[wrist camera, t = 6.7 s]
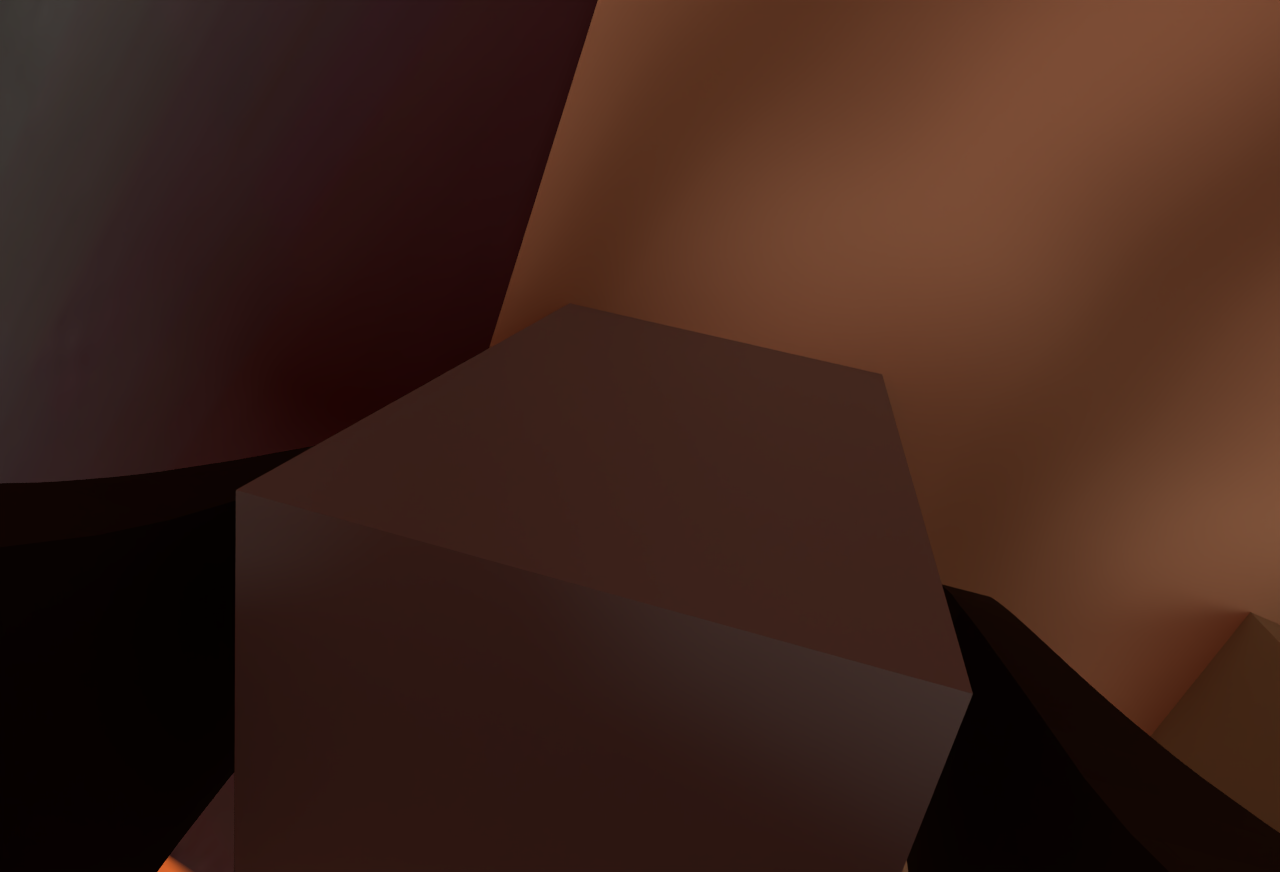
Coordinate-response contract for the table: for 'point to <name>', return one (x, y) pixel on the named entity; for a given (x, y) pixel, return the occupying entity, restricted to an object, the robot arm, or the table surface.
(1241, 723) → the sage carton
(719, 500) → the slate carton
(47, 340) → the table surface
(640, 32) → the shelf board
